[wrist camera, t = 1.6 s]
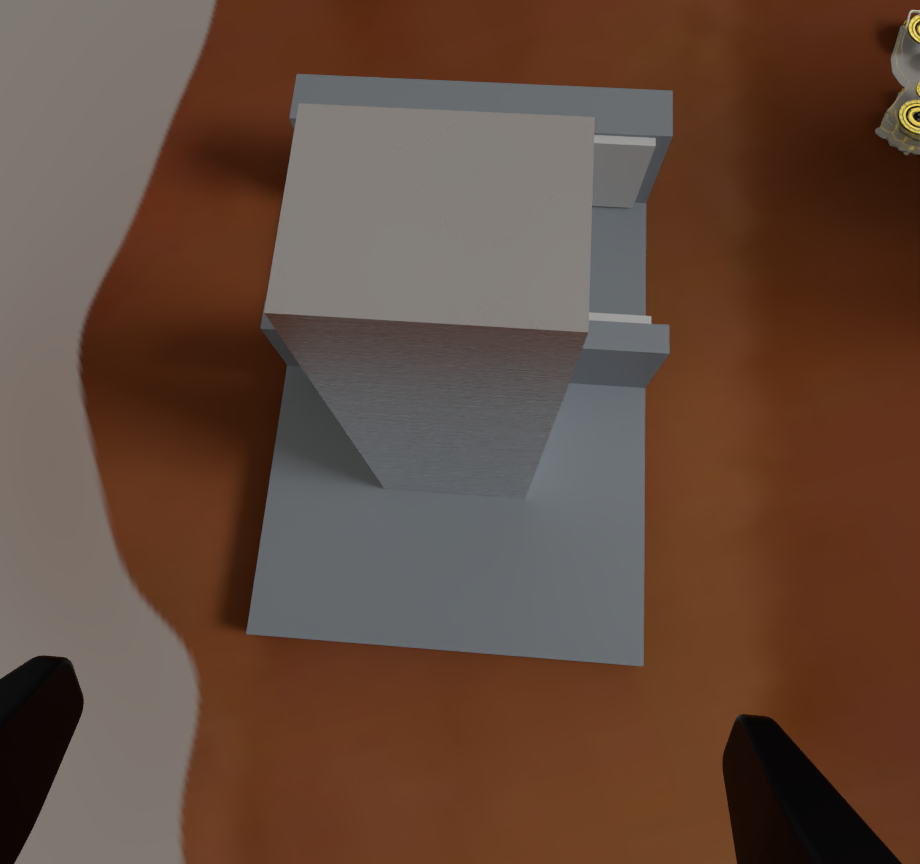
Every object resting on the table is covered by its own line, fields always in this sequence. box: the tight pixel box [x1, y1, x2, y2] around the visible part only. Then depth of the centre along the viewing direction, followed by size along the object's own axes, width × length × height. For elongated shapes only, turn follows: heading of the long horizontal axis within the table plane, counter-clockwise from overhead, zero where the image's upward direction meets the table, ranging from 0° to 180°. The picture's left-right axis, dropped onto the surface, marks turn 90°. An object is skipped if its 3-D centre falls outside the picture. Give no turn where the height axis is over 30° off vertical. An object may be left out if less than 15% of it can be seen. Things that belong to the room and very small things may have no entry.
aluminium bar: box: [264, 103, 595, 499], centre depth 16 cm, size 4×4×13 cm
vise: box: [246, 74, 673, 666], centre depth 22 cm, size 18×12×4 cm, turn 176°
